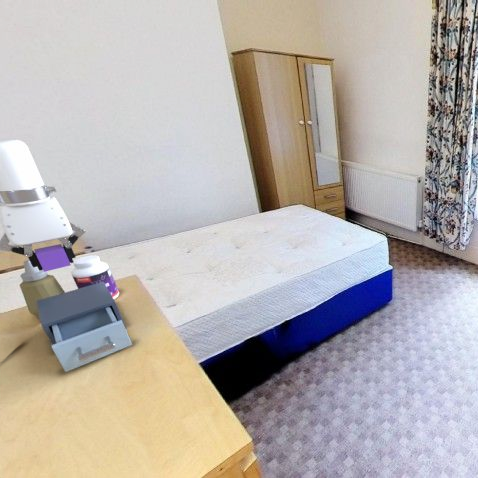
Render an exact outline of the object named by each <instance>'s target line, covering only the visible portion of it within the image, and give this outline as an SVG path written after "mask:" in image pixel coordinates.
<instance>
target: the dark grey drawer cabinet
mask: <svg viewBox="0 0 478 478" xmlns="http://www.w3.org/2000/svg"><path fill="white" fill-rule="evenodd" d="M36 303H37V307H38V312H39V316H40V319H39V320H40V325H41V327H42V329H43V331H44V333H45V334H46V336H47V338H48V340H49V341H50V343H51V345H54V344H57V343H56V340H55V337H54V333H53V329H52V325H54V324H57V323H60V322H63V321H66V320H69V319H72V318H75V317H78V316H81V315H84V314H87V313H90V312H93V311H96V310H99V309H102V308H105V307H110V309H111V311H112V312H113V314H114V316H115V318H116V320H117V321H120V320H122V322H123V324H124V327H125V329H126V330H127V327H126V324H125V321H124V319H123V317H122V315H121V312H120V309H119V308H118V304H117V303H116V301H115V299H113V297H112V296H111V294H110V292H109V290H108V289H107V287H106V285H105V284H104V282H100V283H97V284H93V285H90V286H86V287H83V288H79V289H78V288H75V289H73V290H70V291H65V293H62V294H59V295H55V296H52V297H48V298H45V299H41V300H38V301H36Z"/></svg>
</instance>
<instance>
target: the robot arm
mask: <svg viewBox="0 0 478 478" xmlns="http://www.w3.org/2000/svg"><path fill="white" fill-rule="evenodd" d="M53 193H57V189H56V187H55V186H47V185H45V183H44V181H43V179H42V176H41V174H40V172H39V170H38V167H37V164H36V163H35V160H34V158H33V156H32V153H31V150H30V148H29V147H28V144H26V143H25V142H24V141H22V140H20V139H16V138H15V139H14V138H0V224H1V227H2V229H3V231H4V233H3V235H2V236H1V238H0V250H1V251H5V252H6V251H7V252H12V253H15V254H18V255H22V256H24V257H27V259H28V260H30V262H31V264H32V266H33V267H37V268H38V269H39V271H40V270H42V269H43V268H42V266H41V264H40V262H39V260H38V258H37V256H36V253H35V250H33V244H39V243H44V242H49V241H54V240H59V242H60V244H61V245H62V247H63V248H64V251H65V253H66V255H67V257H68V259H69V262H70V264H73V263H74V262H73V261H74V260H73V259H77V258H76V255H75V252H74V249H73V246H74V244H75V243H76V242H77V241H78V239H79V238H81V237H82V236H83V235H84V234H86V229H84V228H82V227H80V226H79V225H77V224H75V223H73V222H71V221H69V219H68V217H67V215H66V213H65V212H64V211H65V210H63V207H62V206H61V204H60V203H59V201H58V200H57V198H56V197H55V196H53V195H51V194H53ZM73 232H74V233H73Z"/></svg>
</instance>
